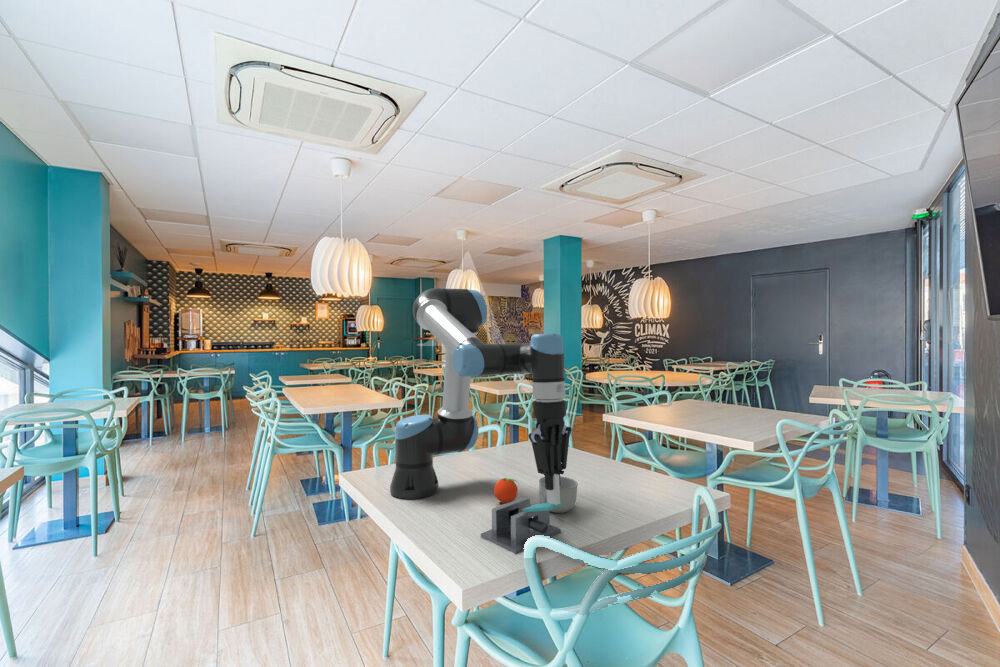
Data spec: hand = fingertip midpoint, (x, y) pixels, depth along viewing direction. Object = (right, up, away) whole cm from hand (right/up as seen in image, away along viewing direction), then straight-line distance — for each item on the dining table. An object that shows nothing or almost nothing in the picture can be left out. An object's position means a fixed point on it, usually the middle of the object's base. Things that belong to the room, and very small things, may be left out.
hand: (553, 502), depth 105 cm
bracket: (-7, -11, +8) cm, 15 cm away
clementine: (-10, -11, +30) cm, 33 cm away
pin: (-6, -9, +7) cm, 13 cm away
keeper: (-2, -2, +2) cm, 4 cm away
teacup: (+3, -11, +23) cm, 25 cm away
